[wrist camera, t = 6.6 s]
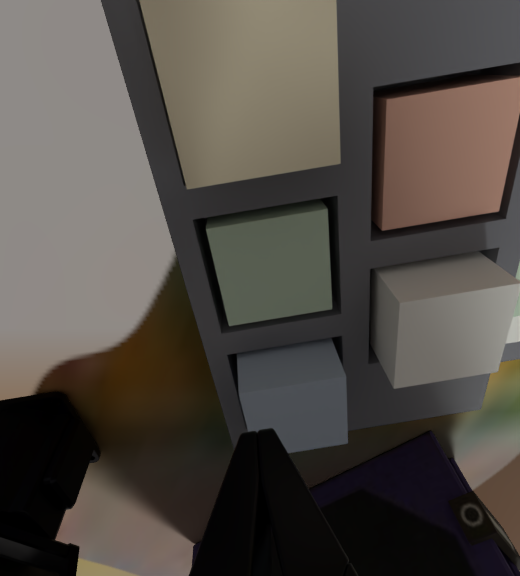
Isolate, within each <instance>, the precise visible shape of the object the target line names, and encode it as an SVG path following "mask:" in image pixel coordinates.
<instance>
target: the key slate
mask: <svg viewBox="0 0 520 576" xmlns="http://www.w3.org/2000/svg"><path fill="white" fill-rule="evenodd" d="M237 365H238V391H239V397H240V401H241V405H242V409H243V413H244V417H245V421H246V425H247V429H248V432H249V431H256V432H258V431H259V430H261V429H267V428H273V429H274V430H275V432H276V433H277V435H278V437H279V439H280V440H281V442H282V444H283V446H284V447H285V449H286V451H287V452H288V453H293V452H299V451H305V450H312V449H318V448H324V447H330V446H336V445H342V444H348V424H347V386H346V374H345V372H344V369H343V367H342V364H341V362H340V359H339V356H338V354H337V351H336V349H335V346H334V344H333V341H332V339H331V338H326V339H320V340H314V341H308V342H302V343H295V344H289V345H283V346H277V347H271V348H265V349H259V350H253V351H247V352H241V353H237Z"/></svg>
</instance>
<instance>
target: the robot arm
mask: <svg viewBox="0 0 520 576" xmlns="http://www.w3.org/2000/svg"><path fill="white" fill-rule="evenodd" d="M100 454H101V452H100V450H99V449H98V447H97V445H96V444H95V442H94V440H93V439H92V437H91V436H90V434H89V432H88V431H87V429H86V427H85V426H84V424H83V423H82V421H81V419H80V418H79V416H78V414H77V413H76V411H75V410H74V408H73V406H72V405H71V403H70V402H69V400H68V398H67V397H66V395H65V394H63V393H61V392H49V393H43V394H37V395H31V396H26V397H19V398H13V399H7V400H1V401H0V576H76V571H77V562H78V555H79V546H77V545H74V544H71V543H69V544H65V543H62V542H59V541H56V540H55V539H56V536H57V533H58V531H59V528H60V525H61V522H62V520H63V517H64V514H65V511H66V510H67V509H71V508H72V507H73V506H74V504H75V502H76V500H77V497H78V494H79V491H80V488H81V485H82V482H83V479H84V477H85V474H86V471H87V468H88V465H89V463H94V462H97V461H98V460H99V457H100ZM271 528H272V532H273V536H274V541H275V545H276V549H277V554H278V558H279V562H280V566H281V571H282V575H283V576H358V574H357V572H356V571H355V569H354V567H353V566H352V564H351V563H349V559H348V557H347V555H346V554H345V552H344V550H343V548H342V547H341V545H340V543H339V541H338V540H337V538H336V536H335V534H334V533H333V531H332V529H331V527H330V526H329V524H328V522H327V521H326V519H325V517H324V515H323V514H322V512H321V510H320V508H319V507H318V505H317V503H316V501H315V500H314V498H313V496H312V494H311V493H310V491H309V489H308V487H307V486H306V484H305V482H304V480H303V479H302V477H301V475H300V473H299V472H298V470H297V468H296V466H295V465H294V463H293V461H292V459H291V458H290V456H289V454H288V452H287V451H286V449H285V447H284V446H283V444H282V442H281V440H280V439H279V437H278V435H277V433H276V432H275V430H274V429H273V428H267V429H261V430H259V431H258V432H256V431H249V432H243V433H241V434H240V436H239V439H238V441H237V444H236V447H235V450H234V452H233V455H232V458H231V461H230V463H229V466H228V469H227V472H226V474H225V477H224V480H223V483H222V486H221V488H220V491H219V494H218V497H217V499H216V502H215V505H214V508H213V510H212V513H211V516H210V519H209V521H208V524H207V527H206V530H205V532H204V535H203V538H202V541H201V543H200V546H199V549H198V552H197V554H196V557H195V560H194V563H193V566H192V568H191V571H190V574H189V576H272V545H271Z"/></svg>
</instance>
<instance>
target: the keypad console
mask: <svg viewBox="0 0 520 576" xmlns="http://www.w3.org/2000/svg"><path fill="white" fill-rule="evenodd" d="M101 2H102V6H103V9H104V12H105V16H106V19H107V22H108V26H109V29H110V33H111V36H112V39H113V42H114V46H115V49H116V53H117V56H118V60H119V63H120V66H121V70H122V73H123V76H124V79H125V83H126V87H127V90H128V93H129V97H130V100H131V103H132V107H133V110H134V113H135V117H136V120H137V123H138V127H139V130H140V134H141V137H142V140H143V144H144V147H145V151H146V154H147V157H148V161H149V164H150V167H151V171H152V174H153V177H154V181H155V184H156V188H157V191H158V194H159V198H160V201H161V205H162V208H163V211H164V215H165V218H166V221H167V224H168V228H169V231H170V235H171V238H172V242H173V245H174V248H175V252H176V255H177V259H178V262H179V265H180V269H181V272H182V275H183V279H184V282H185V286H186V289H187V292H188V296H189V299H190V302H191V306H192V309H193V313H194V316H195V319H196V323H197V326H198V329H199V333H200V336H201V340H202V343H203V346H204V350H205V353H206V356H207V360H208V363H209V367H210V370H211V373H212V377H213V380H214V383H215V387H216V390H217V394H218V397H219V400H220V404H221V407H222V410H223V414H224V417H225V421H226V424H227V427H228V431H229V434H230V437H231V441H232V444H233V448H234V449H235V447H236V444H237V441H238V439H239V436H240V434H241V433H243V432H248V429H247V425H246V421H245V417H244V413H243V409H242V405H241V401H240V397H239V391H238V365H237V353H241V352H247V351H253V350H259V349H265V348H271V347H277V346H283V345H289V344H295V343H302V342H308V341H314V340H320V339H326V338H331V339H332V341H333V344H334V346H335V349H336V351H337V354H338V356H339V359H340V362H341V364H342V367H343V369H344V372H345V374H346V386H347V424H348V431H351V430H357V429H363V428H369V427H376V426H382V425H388V424H394V423H400V422H406V421H413V420H419V419H425V418H431V417H437V416H443V415H449V414H456V413H462V412H468V411H474V410H480V409H481V407H482V403H483V399H484V395H485V392H486V388H487V384H488V380H489V376H490V373H488V374H482V375H476V376H470V377H464V378H458V379H452V380H445V381H439V382H433V383H427V384H421V385H415V386H409V387H403V388H397V389H394V388H393V386H392V385H391V383H390V381H389V379H388V377H387V375H386V373H385V371H384V369H383V367H382V365H381V364H380V362H379V360H378V358H377V356H376V354H375V352H374V350H373V348H372V346H371V344H370V302H371V269H372V268H378V267H384V266H390V265H396V264H402V263H408V262H414V261H420V260H426V259H432V258H438V257H445V256H451V255H457V254H463V253H469V252H475V251H479V252H480V253H482V254H483V255H484V256H486V257H487V258H488V259H490V260H491V261H493V262H494V263H495V264H497V265H498V266H500V267H501V268H502V269H504V270H505V271H506V272H508V273H509V274H511V275H512V276H513V277H515V278H516V279H517V280H519V281H520V114H519V119H518V124H517V128H516V133H515V138H514V143H513V147H512V152H511V157H510V161H509V166H508V171H507V176H506V180H505V185H504V190H503V195H502V199H501V204H500V209H499V211H498V212H492V213H486V214H480V215H474V216H468V217H462V218H456V219H450V220H444V221H438V222H432V223H426V224H420V225H414V226H408V227H402V228H396V229H390V230H384V231H382V230H381V229H380V228H379V227H378V226H377V225H376V224H375V223H374V222H373V221H372V220H371V189H372V133H373V91H377V90H383V89H389V88H395V87H401V86H407V85H413V84H419V83H425V82H431V81H437V80H442V79H448V78H454V77H460V76H466V75H511V76H520V0H336V4H337V43H338V81H339V119H340V157H341V164H336V165H330V166H324V167H318V168H312V169H306V170H300V171H294V172H288V173H282V174H276V175H271V176H265V177H259V178H253V179H247V180H241V181H235V182H229V183H223V184H217V185H211V186H205V187H199V188H193V189H187V187H186V183H185V179H184V175H183V171H182V168H181V164H180V160H179V156H178V152H177V148H176V144H175V140H174V136H173V132H172V128H171V124H170V120H169V116H168V112H167V108H166V104H165V100H164V96H163V92H162V88H161V84H160V80H159V76H158V72H157V68H156V64H155V61H154V57H153V53H152V49H151V45H150V41H149V37H148V33H147V29H146V25H145V21H144V17H143V13H142V9H141V5H140V1H139V0H101ZM314 199H321V200H322V202H323V203H324V205H325V206H326V207H327V209H328V227H329V248H330V269H331V290H332V309H330V310H324V311H318V312H312V313H306V314H300V315H294V316H288V317H282V318H276V319H270V320H264V321H258V322H251V323H245V324H239V325H233V326H229V324H228V320H227V316H226V311H225V307H224V303H223V299H222V295H221V291H220V286H219V282H218V278H217V274H216V270H215V265H214V261H213V257H212V253H211V249H210V244H209V240H208V236H207V232H206V225H207V217H212V216H218V215H224V214H230V213H236V212H242V211H248V210H254V209H260V208H266V207H272V206H278V205H284V204H290V203H296V202H302V201H308V200H314ZM515 359H520V293H519V297H518V300H517V304H516V307H515V311H514V315H513V318H512V322H511V325H510V329H509V333H508V336H507V340H506V344H505V347H504V351H503V354H502V358H501V362H503V361H509V360H515Z"/></svg>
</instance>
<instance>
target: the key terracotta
mask: <svg viewBox="0 0 520 576" xmlns="http://www.w3.org/2000/svg"><path fill="white" fill-rule="evenodd" d="M519 114H520V76H511V75H466V76H460V77H454V78H448V79H442V80H437V81H431V82H425V83H419V84H413V85H407V86H401V87H395V88H389V89H383V90H377V91H373V133H372V189H371V220H372V221H373V222H374V223H375V224H376V225H377V226H378V227H379V228H380V229H381V230H382V231H384V230H390V229H396V228H402V227H408V226H414V225H420V224H426V223H432V222H438V221H444V220H450V219H456V218H462V217H468V216H474V215H480V214H486V213H492V212H498V211H499V209H500V204H501V199H502V195H503V190H504V185H505V180H506V176H507V171H508V166H509V161H510V157H511V152H512V147H513V143H514V138H515V133H516V128H517V124H518V119H519Z"/></svg>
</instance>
